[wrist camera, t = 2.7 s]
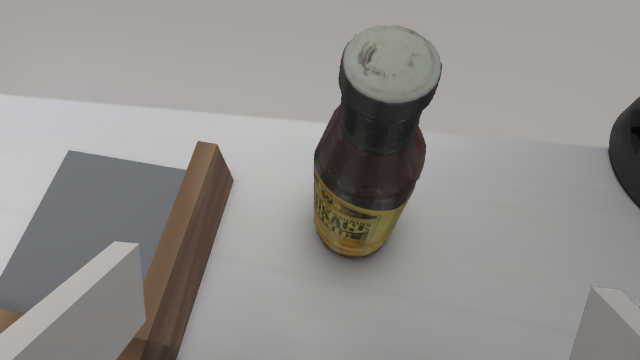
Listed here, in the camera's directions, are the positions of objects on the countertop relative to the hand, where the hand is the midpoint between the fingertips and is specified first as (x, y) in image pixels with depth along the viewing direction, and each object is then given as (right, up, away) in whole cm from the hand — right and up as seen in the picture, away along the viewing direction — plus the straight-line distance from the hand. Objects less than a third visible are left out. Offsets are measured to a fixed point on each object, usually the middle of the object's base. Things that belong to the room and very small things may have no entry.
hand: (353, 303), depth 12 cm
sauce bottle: (+2, 0, +22) cm, 22 cm away
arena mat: (-18, -1, +22) cm, 29 cm away
